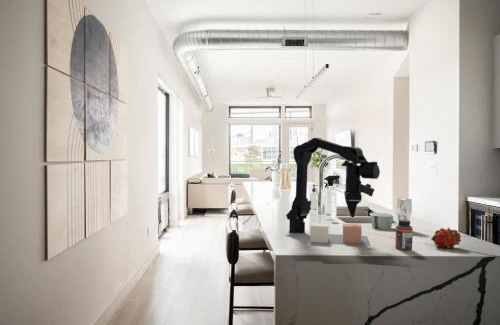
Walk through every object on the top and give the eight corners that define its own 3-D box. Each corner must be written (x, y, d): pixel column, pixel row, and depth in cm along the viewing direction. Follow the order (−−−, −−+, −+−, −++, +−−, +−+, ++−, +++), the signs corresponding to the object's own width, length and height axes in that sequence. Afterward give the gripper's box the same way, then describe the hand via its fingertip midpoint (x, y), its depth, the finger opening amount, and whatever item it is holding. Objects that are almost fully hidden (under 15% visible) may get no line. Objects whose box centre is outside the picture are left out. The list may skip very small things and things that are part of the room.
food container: (389, 230, 199) (389, 216, 199) (365, 227, 206) (365, 214, 206) (397, 227, 209) (397, 214, 208) (374, 224, 216) (374, 212, 216)
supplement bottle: (392, 248, 160) (393, 219, 159) (407, 248, 160) (408, 219, 160) (399, 251, 154) (400, 221, 153) (415, 251, 154) (415, 221, 154)
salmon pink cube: (342, 242, 167) (343, 226, 167) (342, 238, 174) (342, 223, 174) (361, 243, 165) (361, 227, 165) (360, 239, 172) (360, 224, 172)
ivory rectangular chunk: (309, 241, 167) (310, 225, 167) (311, 238, 174) (311, 222, 174) (328, 242, 165) (328, 226, 165) (328, 239, 172) (328, 223, 172)
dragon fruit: (463, 252, 162) (433, 256, 161) (453, 236, 169) (424, 240, 168) (468, 237, 157) (437, 241, 156) (457, 221, 163) (428, 225, 163)
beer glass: (412, 231, 197) (413, 200, 197) (397, 230, 199) (398, 199, 198) (409, 228, 204) (410, 198, 204) (395, 228, 206) (395, 198, 205)
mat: (308, 243, 165) (308, 242, 165) (311, 233, 186) (311, 232, 186) (370, 247, 160) (370, 246, 160) (367, 237, 181) (367, 236, 181)
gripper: (375, 179, 159) (374, 220, 159) (371, 177, 177) (370, 213, 177) (345, 178, 161) (344, 218, 161) (344, 176, 179) (344, 212, 179)
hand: (352, 215), depth 170 cm, fingers open, 9 cm apart
